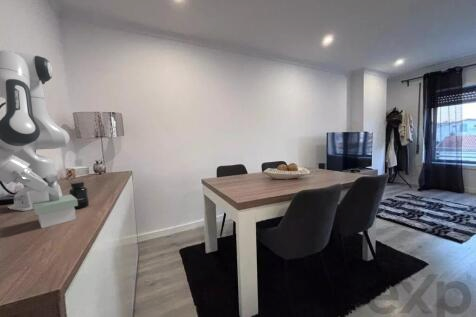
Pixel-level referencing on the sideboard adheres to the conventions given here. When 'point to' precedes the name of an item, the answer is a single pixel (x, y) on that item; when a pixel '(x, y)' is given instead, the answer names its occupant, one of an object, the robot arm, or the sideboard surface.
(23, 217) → the sideboard surface
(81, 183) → the supplement bottle
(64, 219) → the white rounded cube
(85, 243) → the sideboard surface
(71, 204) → the t-shaped pedestal stand
